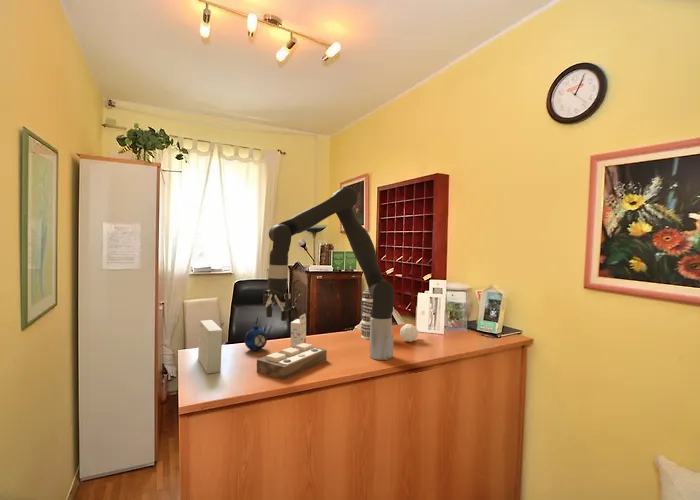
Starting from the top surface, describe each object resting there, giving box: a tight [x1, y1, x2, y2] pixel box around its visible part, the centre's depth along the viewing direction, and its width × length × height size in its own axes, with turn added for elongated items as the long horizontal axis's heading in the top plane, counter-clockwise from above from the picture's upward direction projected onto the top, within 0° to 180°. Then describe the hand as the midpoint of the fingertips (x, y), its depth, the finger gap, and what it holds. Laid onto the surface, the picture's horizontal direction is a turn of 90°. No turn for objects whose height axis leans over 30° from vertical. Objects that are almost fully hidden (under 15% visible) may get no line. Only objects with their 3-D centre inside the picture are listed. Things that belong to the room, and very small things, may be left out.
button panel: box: [256, 346, 328, 381], centre depth 136 cm, size 14×25×4 cm, turn 147°
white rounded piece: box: [399, 323, 419, 343], centre depth 174 cm, size 9×9×12 cm
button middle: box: [281, 346, 300, 357], centre depth 137 cm, size 5×5×3 cm
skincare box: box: [197, 319, 223, 375], centre depth 136 cm, size 21×5×16 cm, turn 32°
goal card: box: [278, 347, 323, 365], centre depth 134 cm, size 4×21×1 cm, turn 147°
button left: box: [265, 351, 286, 363], centre depth 130 cm, size 5×5×3 cm
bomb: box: [244, 317, 268, 352], centre depth 155 cm, size 10×11×15 cm
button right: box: [295, 342, 313, 352], centre depth 144 cm, size 5×5×3 cm
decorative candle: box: [360, 288, 373, 340], centre depth 180 cm, size 9×9×25 cm
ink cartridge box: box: [290, 313, 307, 347], centre depth 164 cm, size 9×5×15 cm, turn 168°
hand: (276, 318), depth 132 cm, fingers open, 8 cm apart
